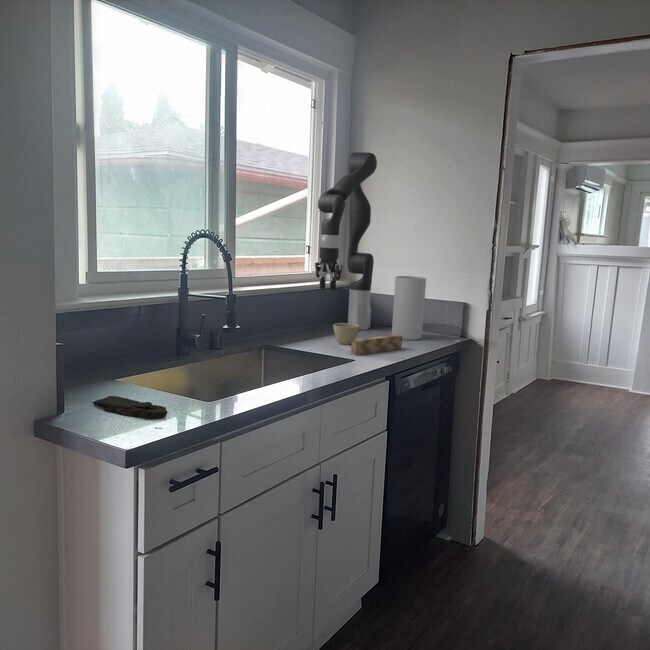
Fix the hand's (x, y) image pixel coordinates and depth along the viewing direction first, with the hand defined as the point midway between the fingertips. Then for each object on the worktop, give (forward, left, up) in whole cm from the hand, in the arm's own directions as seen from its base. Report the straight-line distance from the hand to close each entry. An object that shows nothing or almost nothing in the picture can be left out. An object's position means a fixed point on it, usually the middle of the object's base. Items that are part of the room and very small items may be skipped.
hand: (327, 289), depth 246 cm
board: (0, +29, -19) cm, 35 cm away
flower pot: (0, +12, -20) cm, 23 cm away
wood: (+103, +48, -20) cm, 116 cm away
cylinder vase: (-32, +15, -20) cm, 40 cm away
